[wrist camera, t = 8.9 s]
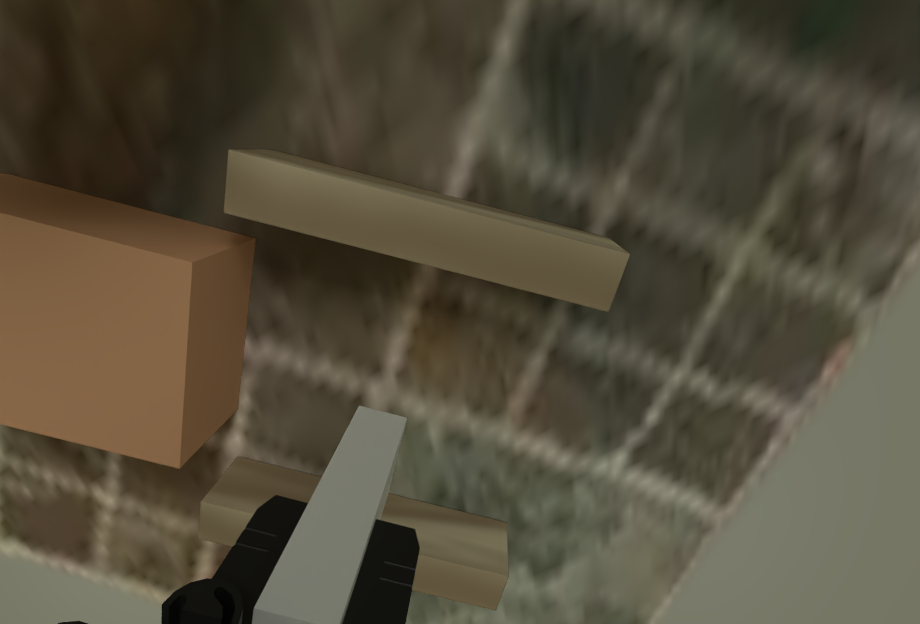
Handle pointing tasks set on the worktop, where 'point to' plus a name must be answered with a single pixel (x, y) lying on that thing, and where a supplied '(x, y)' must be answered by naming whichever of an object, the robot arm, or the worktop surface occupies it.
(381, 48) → the worktop surface
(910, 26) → the worktop surface
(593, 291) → the chute
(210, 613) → the robot arm
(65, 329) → the block
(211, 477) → the worktop surface
